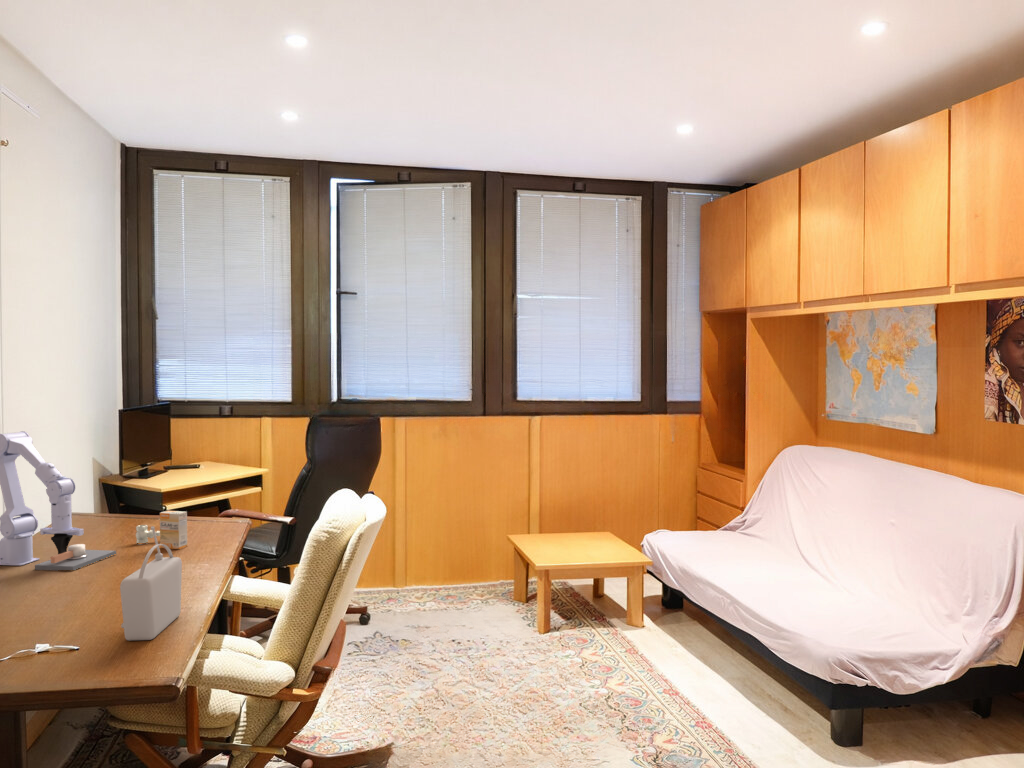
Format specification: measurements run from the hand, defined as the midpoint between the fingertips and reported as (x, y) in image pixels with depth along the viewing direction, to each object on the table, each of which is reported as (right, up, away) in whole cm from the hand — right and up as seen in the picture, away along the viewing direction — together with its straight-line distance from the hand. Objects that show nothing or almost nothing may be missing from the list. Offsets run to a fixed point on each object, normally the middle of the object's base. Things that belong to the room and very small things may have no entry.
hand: (62, 556), depth 242 cm
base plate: (+2, -3, +5) cm, 6 cm away
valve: (+15, -3, +32) cm, 35 cm away
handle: (+1, -1, +1) cm, 2 cm away
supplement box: (+26, -3, +23) cm, 35 cm away
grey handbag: (+58, -4, -59) cm, 83 cm away
